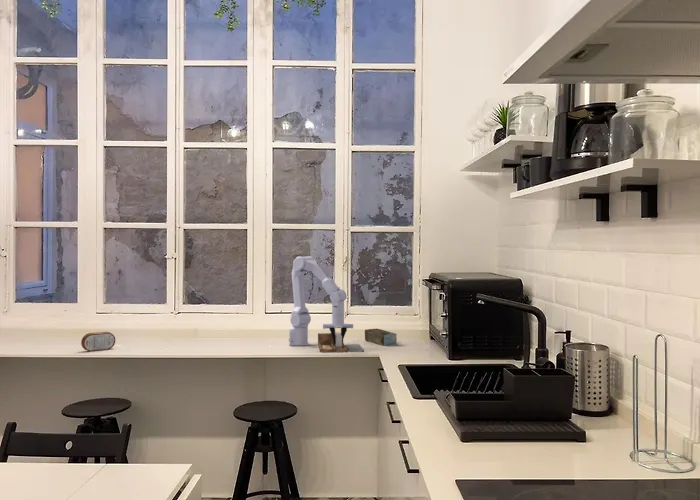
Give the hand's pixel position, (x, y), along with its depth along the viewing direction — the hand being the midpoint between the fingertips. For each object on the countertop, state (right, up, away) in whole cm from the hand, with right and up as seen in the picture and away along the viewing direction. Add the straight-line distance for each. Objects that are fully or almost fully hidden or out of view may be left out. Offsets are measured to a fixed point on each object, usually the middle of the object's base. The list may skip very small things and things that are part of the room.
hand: (338, 343), depth 286 cm
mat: (+8, -2, +1) cm, 8 cm away
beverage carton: (+21, -3, +18) cm, 28 cm away
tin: (-111, -2, -8) cm, 112 cm away
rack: (-3, -2, 0) cm, 4 cm away
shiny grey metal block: (0, -3, 0) cm, 2 cm away
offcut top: (-5, -3, 0) cm, 6 cm away
